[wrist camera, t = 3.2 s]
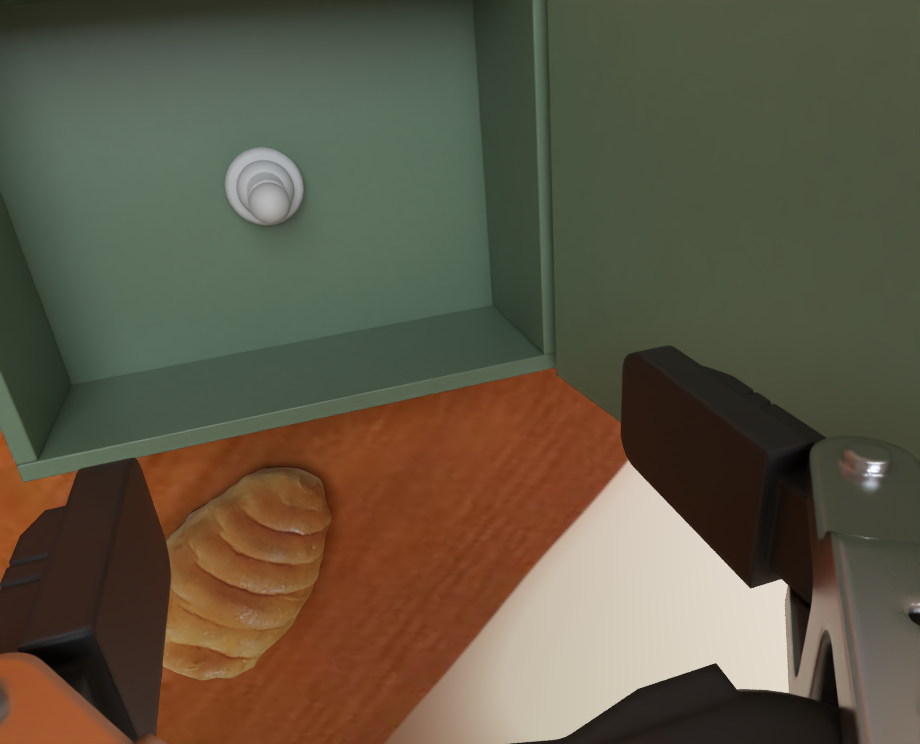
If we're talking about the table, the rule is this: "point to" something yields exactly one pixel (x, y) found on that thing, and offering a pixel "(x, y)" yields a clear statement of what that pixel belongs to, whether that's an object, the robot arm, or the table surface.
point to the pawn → (264, 186)
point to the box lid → (742, 200)
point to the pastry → (243, 571)
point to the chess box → (257, 246)
